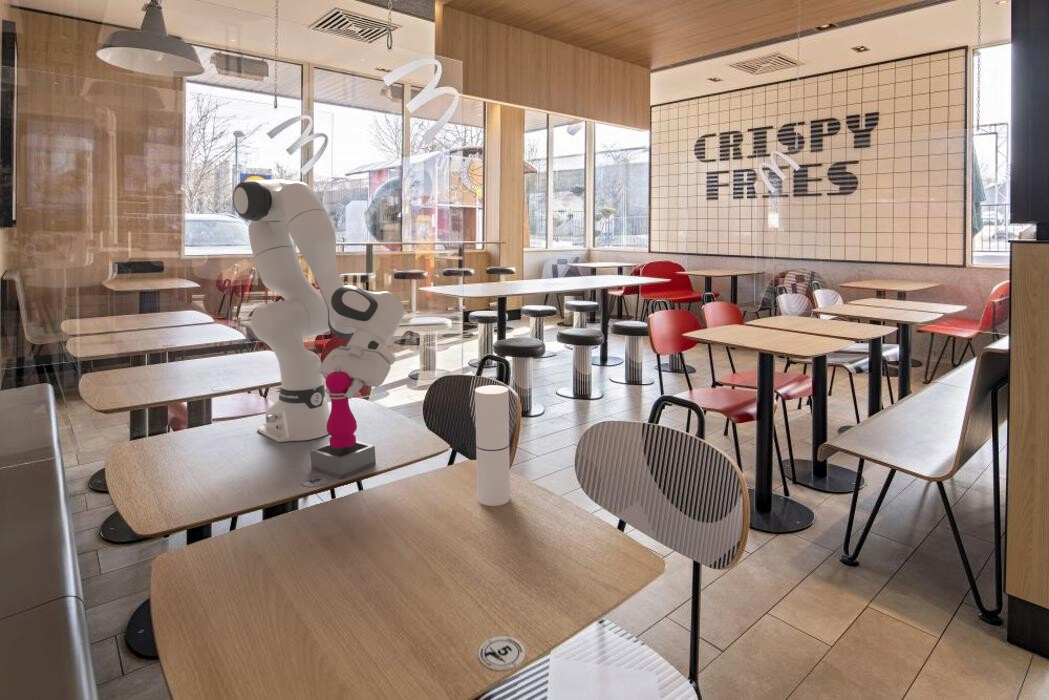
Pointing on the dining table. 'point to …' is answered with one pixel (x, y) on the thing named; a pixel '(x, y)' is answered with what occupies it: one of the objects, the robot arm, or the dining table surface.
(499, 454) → the cylindrical container
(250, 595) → the dining table surface
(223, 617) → the dining table surface
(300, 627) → the dining table surface
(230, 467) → the dining table surface
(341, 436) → the pepper mill
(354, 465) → the box
